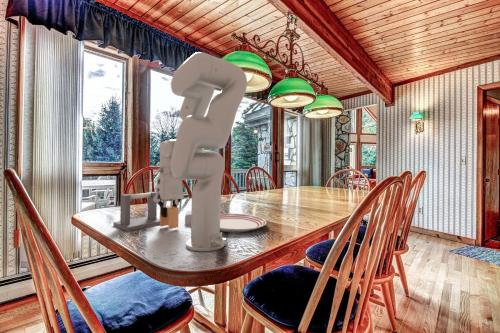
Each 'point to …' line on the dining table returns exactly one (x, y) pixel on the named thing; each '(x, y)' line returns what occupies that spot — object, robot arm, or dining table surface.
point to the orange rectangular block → (170, 217)
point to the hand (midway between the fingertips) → (169, 215)
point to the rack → (137, 223)
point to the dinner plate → (240, 222)
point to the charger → (188, 218)
